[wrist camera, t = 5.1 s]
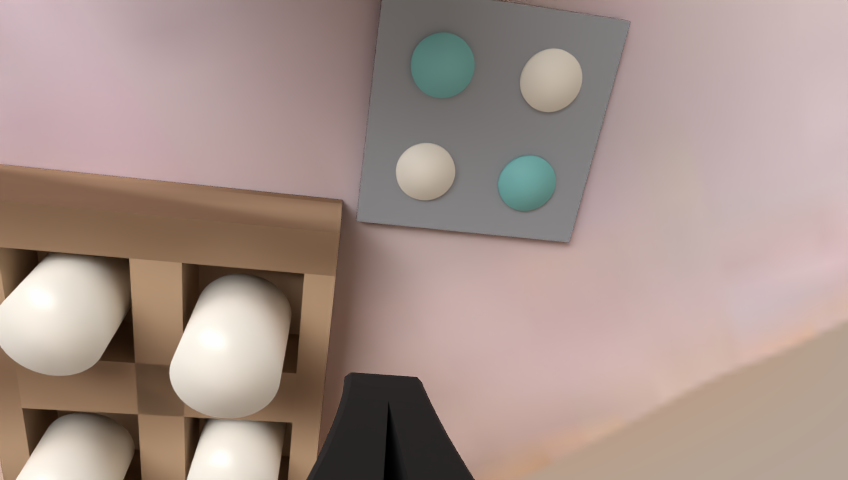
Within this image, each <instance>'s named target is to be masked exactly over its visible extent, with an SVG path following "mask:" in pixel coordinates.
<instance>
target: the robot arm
mask: <svg viewBox="0 0 848 480" xmlns="http://www.w3.org/2000/svg"><path fill="white" fill-rule="evenodd" d="M306 480H475V479H474V478H473V476H472V475H471V473H470V472H469V470H468V469H467V467H466V465H465V464H464V462H463V460H462V459H461V457H460V455H459V454H458V452H457V450H456V449H455V447H454V445H453V444H452V442H451V440H450V438H449V437H448V435H447V433H446V431H445V429H444V427H443V426H442V424H441V422H440V420H439V418H438V416H437V414H436V412H435V410H434V408H433V406H432V404H431V402H430V400H429V398H428V396H427V393H426V391H425V389H424V387H423V384H422V382H421V381H420V380H419V379H418V378H417V377H409V376H394V375H380V374H365V373H350V374H349V375H347V376H346V377H345V379H344V387H343V394H342V398H341V402H340V405H339V408H338V411H337V414H336V417H335V419H334V422H333V425H332V427H331V429H330V432H329V434H328V436H327V438H326V441H325V443H324V445H323V448H322V450H321V452H320V454H319V456H318V458H317V460H316V462H315V464H314V466H313V468H312V470H311V472H310V473H309V475H308V477H307V479H306Z"/></svg>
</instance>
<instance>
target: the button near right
mask: <svg viewBox="0 0 848 480" xmlns="http://www.w3.org/2000/svg"><path fill="white" fill-rule="evenodd" d="M290 323H291V307H290V304H289V302H288V300H287V298H286V296H285V295H284V293H283V292H282V291H281V290H280V289H279V288H278V287H277V286H276V285H275V284H273V283H272V282H270V281H268V280H266V279H264V278H262V277H259V276H256V275H252V274H241V273H239V274H230V275H226V276H223V277H220V278H218V279H216V280H214V281H213V282H211V283H210V284H209V285H208V286H206V288H205V289H204V290H203V291H202V293H201V294H200V296H199V299H198V301H197V303H196V306H195V308H194V310H193V312H192V315H191V317H190V319H189V322H188V324H187V326H186V329H185V331H184V333H183V336H182V338H181V340H180V343H179V345H178V347H177V350H176V352H175V354H174V356H173V359H172V361H171V365H170V372H169V374H170V381H171V384H172V387H173V389H174V391H175V392H176V394H177V395H178V396H179V398H180V399H181V400H182V401H183V402H184V403H185V404H187V405H188V406H189V407H191V408H192V409H194V410H196V411H198V412H200V413H202V414H205V415H208V416H212V417H217V418H240V417H245V416H248V415H251V414H254V413H256V412H258V411H260V410H261V409H263V408H264V407H266V406H267V405H268V404H269V403H270V402H271V401H272V400H273V398H274V397H275V395H276V393H277V391H278V389H279V385H280V379H281V374H282V368H283V362H284V357H285V351H286V346H287V340H288V334H289V329H290Z"/></svg>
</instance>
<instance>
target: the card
mask: <svg viewBox="0 0 848 480" xmlns="http://www.w3.org/2000/svg"><path fill="white" fill-rule="evenodd" d="M629 26H630V21H627V20H623V19H616V18H610V17H603V16H597V15H590V14H584V13H577V12H571V11H564V10H558V9H551V8H545V7H538V6H532V5H526V4H519V3H513V2H506V1H500V0H381V8H380V17H379V26H378V34H377V43H376V52H375V60H374V69H373V78H372V87H371V95H370V104H369V113H368V121H367V130H366V139H365V148H364V156H363V165H362V174H361V182H360V191H359V200H358V209H357V221H359V222H369V223H379V224H389V225H399V226H409V227H419V228H429V229H439V230H449V231H459V232H469V233H479V234H489V235H500V236H510V237H520V238H530V239H540V240H550V241H560V242H569V241H570V238H571V234H572V231H573V227H574V224H575V220H576V216H577V213H578V209H579V206H580V202H581V198H582V195H583V191H584V188H585V184H586V180H587V177H588V173H589V170H590V166H591V162H592V159H593V155H594V152H595V148H596V144H597V141H598V137H599V134H600V130H601V126H602V123H603V119H604V116H605V112H606V108H607V105H608V101H609V98H610V94H611V91H612V87H613V83H614V80H615V76H616V73H617V69H618V65H619V62H620V58H621V55H622V51H623V47H624V44H625V40H626V37H627V33H628V29H629Z"/></svg>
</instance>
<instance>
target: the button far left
mask: <svg viewBox="0 0 848 480" xmlns="http://www.w3.org/2000/svg"><path fill="white" fill-rule="evenodd" d="M134 452H135V446H134V442H133V439H132V437H131V435H130V434H129V432H128V431H127V430H126V429H125V428H124V427H123V426H122V425H121V424H119V423H118V422H116V421H115V420H113V419H111V418H109V417H106V416H103V415H100V414H95V413H88V412H79V413H72V414H68V415H64V416H62V417H60V418H58V419H57V420H55V421H54V422H53V423H51V425H50V426H49V427H48V429H47V430H46V432H45V433H44V435H43V437H42V438H41V440H40V441H39V443H38V445H37V446H36V448H35V450H34V451H33V453H32V454H31V456H30V458H29V459H28V461H27V462H26V464H25V466H24V467H23V469H22V471H21V472H20V474H19V475H18V477H17V479H16V480H123V479H124V477H125V475H126V472H127V470H128V468H129V465H130V463H131V461H132V458H133V456H134Z"/></svg>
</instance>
